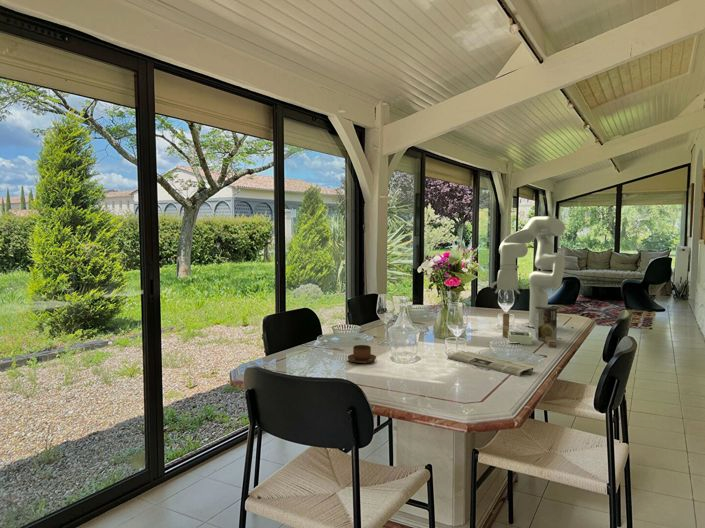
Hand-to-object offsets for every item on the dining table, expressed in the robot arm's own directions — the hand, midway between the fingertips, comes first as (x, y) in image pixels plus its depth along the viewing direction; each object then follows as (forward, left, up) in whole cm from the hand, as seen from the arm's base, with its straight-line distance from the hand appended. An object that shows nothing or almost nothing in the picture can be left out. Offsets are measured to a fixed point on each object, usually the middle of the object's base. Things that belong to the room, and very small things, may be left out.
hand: (506, 301), depth 257 cm
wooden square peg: (0, 0, -18) cm, 18 cm away
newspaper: (+56, -8, -19) cm, 60 cm away
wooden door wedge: (+13, +20, -19) cm, 30 cm away
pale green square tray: (+11, +6, -18) cm, 22 cm away
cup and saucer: (+65, -61, -19) cm, 91 cm away
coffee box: (+2, +19, -19) cm, 27 cm away
